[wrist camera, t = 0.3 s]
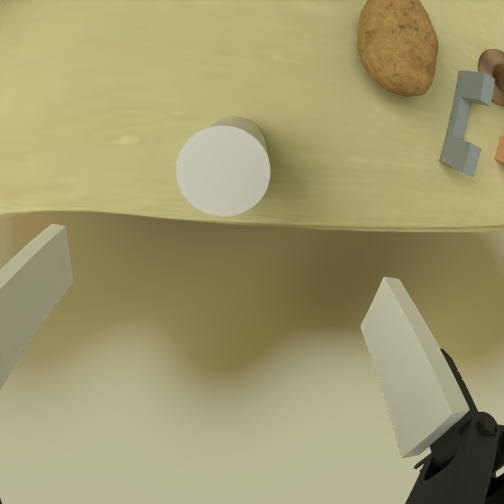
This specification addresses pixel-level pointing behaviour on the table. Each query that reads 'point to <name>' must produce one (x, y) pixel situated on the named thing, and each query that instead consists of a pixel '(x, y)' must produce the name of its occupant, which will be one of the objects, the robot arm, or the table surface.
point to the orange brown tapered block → (500, 150)
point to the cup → (224, 167)
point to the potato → (398, 45)
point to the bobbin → (494, 72)
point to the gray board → (465, 120)
